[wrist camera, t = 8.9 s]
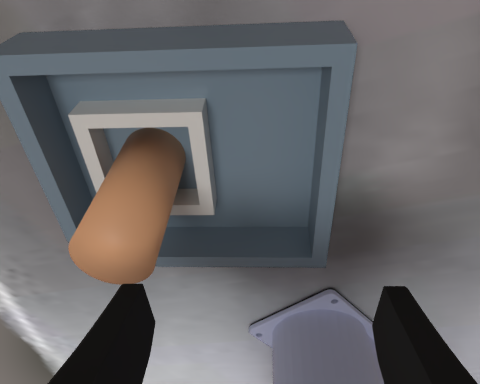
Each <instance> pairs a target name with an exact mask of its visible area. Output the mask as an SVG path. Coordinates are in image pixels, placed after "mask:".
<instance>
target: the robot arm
mask: <svg viewBox="0 0 480 384" xmlns="http://www.w3.org/2000/svg"><path fill="white" fill-rule="evenodd" d="M154 328H155V319H154V316H153V313H152V310H151V307H150V304H149V301H148V298H147V295H146V292H145V289H144V286H143V284H122V285H121V286H120V288H119V289H118V291H117V292H116V294H115V295H114V297H113V298H112V300H111V301H110V303H109V304H108V305H107V307H106V308H105V310H104V311H103V313H102V314H101V315H100V317H99V318H98V320H97V321H96V322H95V324H94V325H93V327H92V328H91V329H90V331H89V332H88V333H87V335H86V336H85V337H84V339H83V340H82V341H81V343H80V344H79V345H78V347H77V348H76V349H75V351H74V352H73V353H72V354H71V356H70V357H69V358H68V359H67V361H66V362H65V363H64V364H63V366H62V367H61V368H60V369H59V370H58V372H57V373H56V374H55V375H54V377H53V378H52V379H51V380H50V382H49V383H48V384H142V382H143V378H144V375H145V371H146V368H147V364H148V360H149V357H150V352H151V346H152V340H153V334H154ZM249 333H250V334H251V335H253V336H254V337H256V338H257V339H259V340H260V341H262V342H263V343H265V344H266V345H268V346H270V347H271V348H272V353H273V384H477V382H476V381H475V380H474V379H473V377H472V376H471V375H470V374H469V373H468V371H467V370H466V369H465V368H464V366H463V365H462V364H461V362H460V361H459V360H458V358H457V357H456V356H455V355H454V353H453V352H452V351H451V349H450V348H449V347H448V345H447V344H446V343H445V341H444V340H443V339H442V337H441V336H440V335H439V333H438V332H437V330H436V329H435V328H434V326H433V325H432V323H431V322H430V321H429V319H428V318H427V316H426V315H425V313H424V312H423V311H422V309H421V308H420V306H419V305H418V303H417V302H416V300H415V299H414V297H413V296H412V294H411V293H410V291H409V290H408V289H407V288H406V287H405V286H384V287H383V291H382V294H381V297H380V301H379V304H378V307H377V311H376V314H375V317H374V321H373V322H371V321H370V320H369V319H368V318H367V317H366V316H364V315H363V314H362V313H361V312H360V311H358V310H357V309H356V308H355V307H354V306H353V305H351V304H350V303H349V302H348V301H347V300H345V299H344V298H343V297H342V296H341V295H340V294H338V293H337V292H336V291H334V290H331V289H330V290H326V291H323V292H321V293H319V294H317V295H315V296H313V297H311V298H308V299H306V300H304V301H302V302H300V303H298V304H296V305H293V306H291V307H289V308H287V309H285V310H283V311H281V312H278V313H276V314H274V315H272V316H270V317H268V318H266V319H263V320H261V321H259V322H257V323H255V324H253V325H251V326H249Z"/></svg>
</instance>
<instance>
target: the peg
mask: <svg viewBox="0 0 480 384" xmlns="http://www.w3.org/2000/svg"><path fill="white" fill-rule="evenodd" d="M185 161H186V155H185V151H184V148H183V146H182V145H181V143H180V142H179V141H178V140H177V139H176V138H175V137H174V136H173V135H171V134H170V133H168V132H166V131H164V130H161V129H157V128H142V129H139V130H136V131H134V132H133V133H131V134H130V135H129V136H128V138H127V139H126V141H125V143H124V145H123V147H122V148H121V150H120V152H119V154H118V156H117V157H116V159H115V161H114V163H113V165H112V166H111V168H110V170H109V172H108V174H107V175H106V177H105V179H104V181H103V183H102V184H101V186H100V188H99V190H98V192H97V193H96V195H95V197H94V199H93V201H92V202H91V204H90V206H89V208H88V210H87V211H86V213H85V215H84V217H83V219H82V220H81V222H80V224H79V226H78V228H77V229H76V231H75V233H74V235H73V236H72V238H71V240H70V243H69V253H70V256H71V258H72V260H73V261H74V263H75V264H76V265H77V266H78V267H79V268H80V269H81V270H82V271H84V272H85V273H86V274H88V275H90V276H92V277H94V278H96V279H98V280H101V281H104V282H108V283H112V284H134V283H138V282H141V281H143V280H145V279H146V278H148V277H149V276H150V275H151V274H152V272H153V271H154V268H155V264H156V261H157V258H158V254H159V251H160V247H161V244H162V240H163V237H164V234H165V230H166V227H167V223H168V220H169V217H170V213H171V210H172V206H173V203H174V199H175V196H176V193H177V189H178V186H179V182H180V179H181V175H182V172H183V169H184V165H185Z"/></svg>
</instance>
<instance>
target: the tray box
mask: <svg viewBox="0 0 480 384" xmlns="http://www.w3.org/2000/svg"><path fill="white" fill-rule="evenodd" d="M356 50H357V42H356V40H355V39H354V37H353V35H352V34H351V32H350V30H349V29H348V27H347V26H346V24H345V22H344V21H319V22H293V23H266V24H240V25H213V26H187V27H160V28H134V29H107V30H81V31H54V32H28V33H19V34H17V35H15V36H13V37H12V38H10V39H8V40H7V41H5V42H3V43H1V44H0V100H1V102H2V104H3V106H4V108H5V110H6V113H7V115H8V117H9V119H10V121H11V123H12V125H13V127H14V129H15V132H16V134H17V136H18V138H19V140H20V142H21V144H22V146H23V148H24V151H25V153H26V155H27V157H28V159H29V161H30V163H31V165H32V167H33V170H34V172H35V174H36V176H37V178H38V180H39V182H40V184H41V186H42V189H43V191H44V193H45V195H46V197H47V199H48V201H49V203H50V205H51V207H52V210H53V212H54V214H55V216H56V218H57V220H58V222H59V224H60V226H61V229H62V231H63V233H64V235H65V237H66V239H67V241H68V243H70V240H71V238H72V236H73V235H74V233H75V231H76V229H77V228H78V226H79V224H80V222H81V220H82V219H83V217H84V215H85V213H86V211H87V210H88V208H89V206H90V204H91V202H92V201H93V199H94V197H95V195H96V193H97V192H98V190H99V188H100V186H101V184H102V183H103V181H104V179H105V177H106V175H107V174H108V172H109V170H110V168H111V166H112V165H113V163H114V161H115V159H116V157H117V156H118V154H119V152H120V150H121V148H122V147H123V145H124V143H125V141H126V139H127V138H128V136H129V135H130V134H131V133H133V132H134V131H136V130H139V129H142V128H157V129H161V130H164V131H166V132H168V133H170V134H171V135H173V136H174V137H175V138H176V139H177V140H178V141H179V142H180V143H181V145H182V146H183V148H184V151H185V155H186V161H185V165H184V169H183V172H182V175H181V179H180V182H179V186H178V189H177V193H176V196H175V199H174V203H173V206H172V210H171V213H170V217H169V220H168V223H167V227H166V230H165V234H164V237H163V240H162V244H161V247H160V251H159V254H158V258H157V261H156V264H155V266H161V267H308V268H326V263H327V256H328V249H329V241H330V234H331V227H332V220H333V213H334V206H335V199H336V192H337V185H338V178H339V171H340V163H341V156H342V149H343V142H344V135H345V128H346V121H347V114H348V107H349V100H350V93H351V85H352V78H353V71H354V64H355V57H356Z"/></svg>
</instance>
